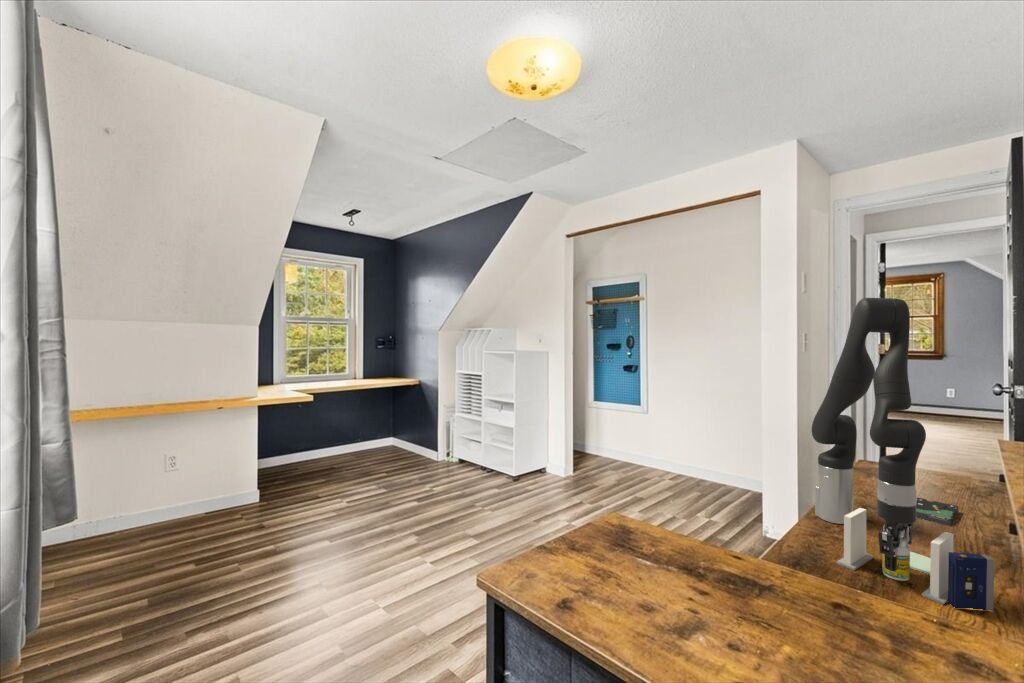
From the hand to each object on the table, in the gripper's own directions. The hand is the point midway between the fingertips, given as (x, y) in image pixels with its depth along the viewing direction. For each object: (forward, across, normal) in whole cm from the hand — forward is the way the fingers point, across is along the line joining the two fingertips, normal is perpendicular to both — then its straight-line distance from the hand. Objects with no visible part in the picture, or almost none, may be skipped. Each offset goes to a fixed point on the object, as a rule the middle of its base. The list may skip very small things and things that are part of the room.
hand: (895, 565), depth 116 cm
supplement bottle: (+3, 0, 0) cm, 3 cm away
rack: (+2, 0, 0) cm, 2 cm away
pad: (+2, -12, +2) cm, 12 cm away
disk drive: (+3, -52, -8) cm, 53 cm away
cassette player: (+3, +2, +14) cm, 15 cm away
